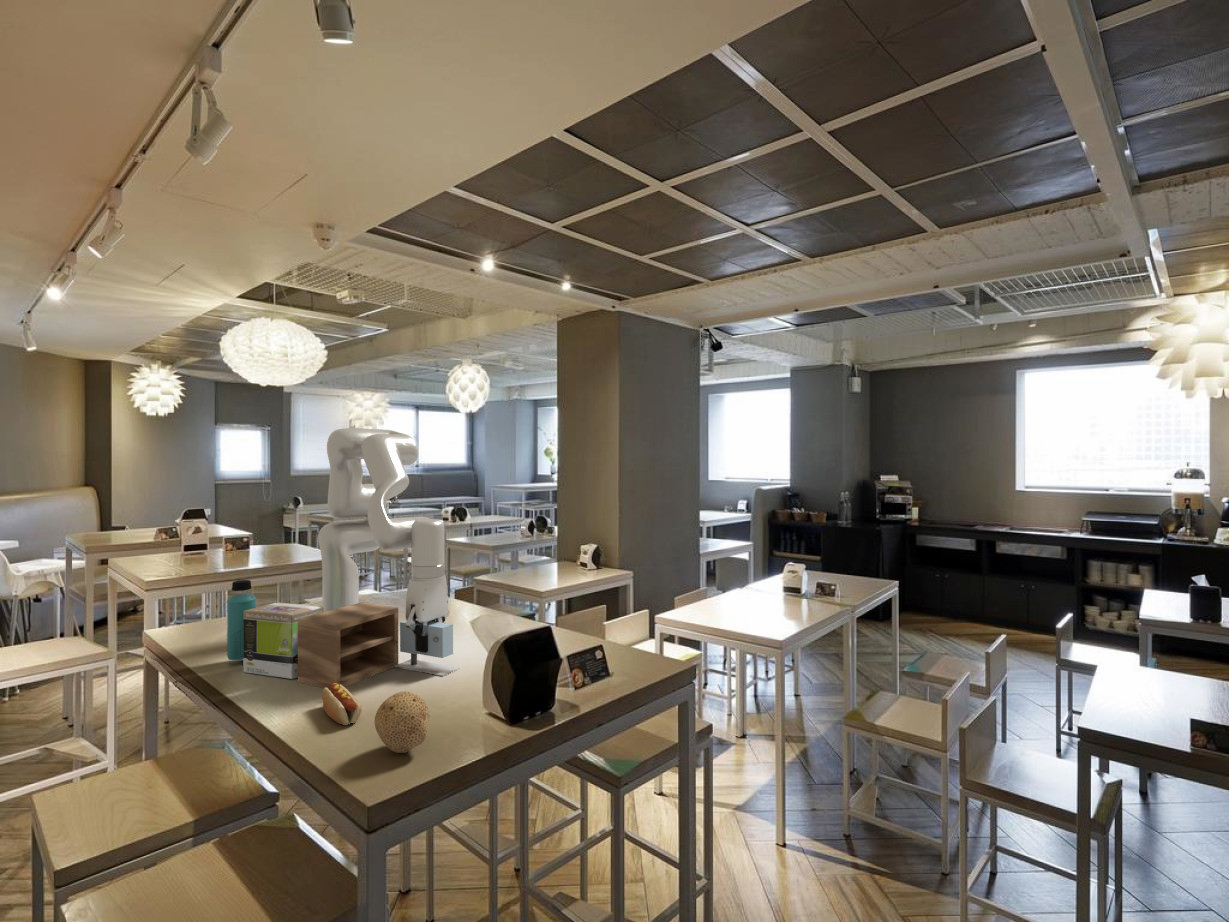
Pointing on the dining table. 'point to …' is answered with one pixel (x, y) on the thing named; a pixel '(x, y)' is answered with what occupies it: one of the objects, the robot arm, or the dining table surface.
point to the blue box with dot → (429, 639)
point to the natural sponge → (402, 721)
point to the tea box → (274, 638)
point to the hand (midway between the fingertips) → (428, 648)
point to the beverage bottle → (237, 618)
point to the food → (341, 704)
